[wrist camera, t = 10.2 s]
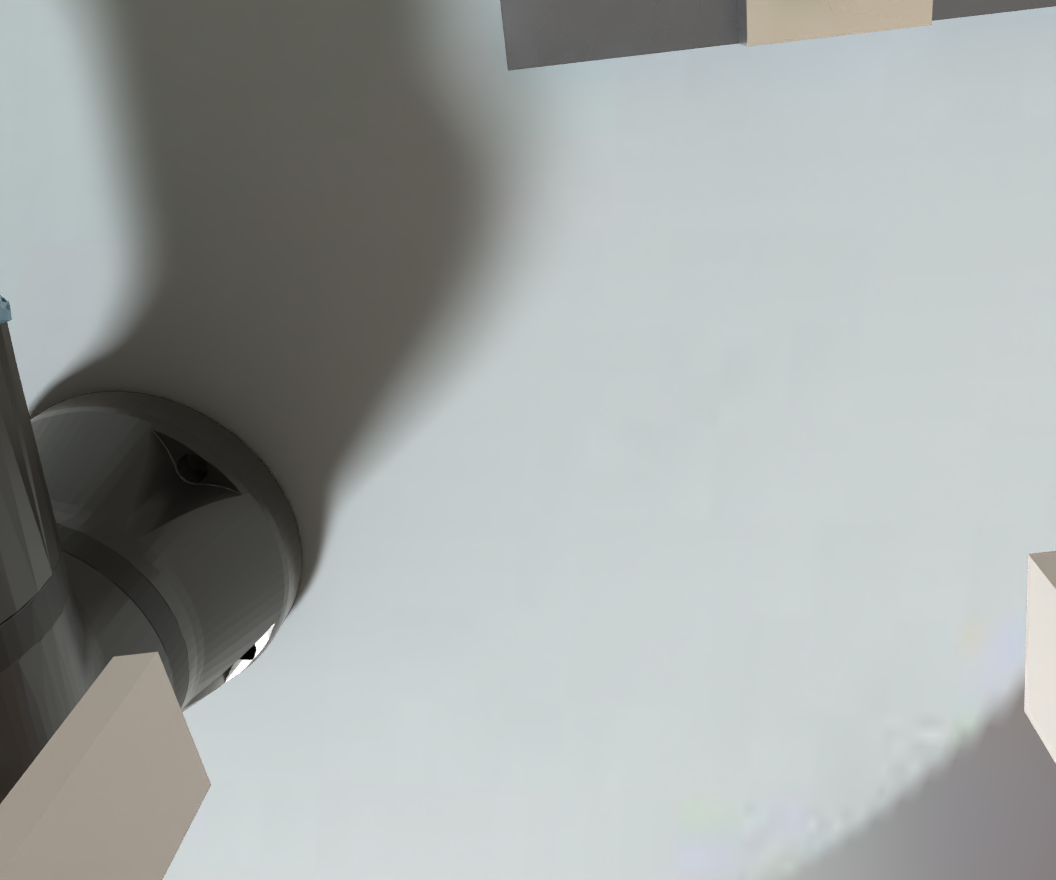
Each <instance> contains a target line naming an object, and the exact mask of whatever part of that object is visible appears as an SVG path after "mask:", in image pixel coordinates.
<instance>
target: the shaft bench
mask: <svg viewBox="0 0 1056 880" xmlns="http://www.w3.org/2000/svg"><path fill="white" fill-rule="evenodd" d="M500 3H501V12H502V20H503V29H504V38H505V47H506V56H507V64H508V70H516V69H524V68H533V67H541V66H550V65H558V64H567V63H575V62H584V61H592V60H601V59H609V58H618V57H626V56H635V55H643V54H652V53H660V52H669V51H677V50H686V49H694V48H703V47H711V46H720V45H729V44H737V43H739V44H742V45H745V46H754V45H763V44H772V43H780V42H789V41H797V40H806V39H814V38H823V37H831V36H840V35H849V34H857V33H866V32H874V31H883V30H891V29H900V28H908V27H917V26H926V25H932V21H933V20H941V19H950V18H958V17H967V16H975V15H984V14H992V13H1001V12H1009V11H1018V10H1026V9H1035V8H1044V7H1052V6H1056V0H500Z"/></svg>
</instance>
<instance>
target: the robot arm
mask: <svg viewBox="0 0 1056 880" xmlns="http://www.w3.org/2000/svg"><path fill="white" fill-rule="evenodd" d="M10 320H12V318H11V310H10V305H9V302H8V301H7V300H6V299H4V298H3V297H2V296H1V295H0V880H162V879H163V877H164V876H165V874H166V872H167V870H168V868H169V866H170V864H171V862H172V860H173V858H174V856H175V854H176V852H177V850H178V848H179V846H180V844H181V842H182V840H183V838H184V837H185V835H186V833H187V831H188V829H189V827H190V825H191V823H192V821H193V819H194V817H195V815H196V813H197V811H198V809H199V807H200V805H201V803H202V801H203V800H204V798H205V796H206V794H207V792H208V790H209V788H210V786H211V784H210V781H209V779H208V776H207V774H206V771H205V769H204V766H203V764H202V761H201V759H200V756H199V753H198V751H197V748H196V746H195V743H194V741H193V738H192V736H191V733H190V731H189V728H188V726H187V723H186V721H185V718H184V716H183V713H182V712H183V711H185V710H186V709H188V708H189V707H191V706H192V705H194V704H195V703H197V702H198V701H200V700H201V699H202V698H204V697H205V696H207V695H208V694H210V693H211V692H213V691H214V690H216V689H217V688H218V687H220V686H221V685H222V684H223V683H225V682H226V681H228V680H230V679H232V678H233V677H235V676H236V675H238V674H239V673H240V672H242V671H243V670H245V669H246V668H247V667H248V666H250V665H251V664H252V663H253V662H254V661H255V660H256V659H257V658H258V657H259V656H260V655H261V654H262V653H263V652H264V650H265V649H266V648H267V647H268V645H269V644H270V643H271V641H272V640H273V638H274V637H275V635H276V633H277V632H278V630H279V628H280V627H281V625H282V623H283V621H284V620H285V618H286V616H287V615H288V613H289V611H290V609H291V607H292V605H293V603H294V600H295V597H296V595H297V592H298V587H299V583H300V577H301V566H302V555H301V544H300V538H299V533H298V529H297V525H296V522H295V519H294V516H293V513H292V510H291V508H290V506H289V504H288V501H287V499H286V497H285V496H284V494H283V492H282V490H281V488H280V487H279V485H278V483H277V482H276V480H275V479H274V477H273V476H272V475H271V473H270V472H269V470H268V469H267V468H266V467H265V465H264V464H263V463H262V462H261V461H260V459H259V458H258V457H257V456H256V455H255V454H254V453H253V452H252V451H251V450H250V449H249V448H248V447H247V446H246V445H245V444H244V443H243V442H242V441H240V440H239V439H238V438H237V437H235V436H234V435H233V434H232V433H230V432H229V431H228V430H226V429H225V428H224V427H222V426H221V425H219V424H218V423H216V422H214V421H213V420H211V419H210V418H208V417H206V416H204V415H202V414H200V413H199V412H196V411H194V410H192V409H190V408H188V407H186V406H183V405H180V404H178V403H175V402H172V401H169V400H166V399H163V398H159V397H155V396H151V395H146V394H140V393H132V392H98V393H90V394H85V395H80V396H77V397H73V398H70V399H67V400H64V401H62V402H59V403H57V404H55V405H53V406H51V407H49V408H48V409H46V410H44V411H43V412H41V413H39V414H38V415H37V416H35V417H34V418H32V419H31V420H30V416H29V412H28V408H27V404H26V400H25V396H24V392H23V388H22V384H21V380H20V376H19V372H18V368H17V364H16V359H15V355H14V350H13V346H12V341H11V337H10V333H9V328H8V324H7V321H10ZM1024 711H1025V713H1026V715H1027V716H1028V718H1029V720H1030V721H1031V723H1032V725H1033V726H1034V728H1035V730H1036V731H1037V733H1038V735H1039V736H1040V738H1041V740H1042V741H1043V743H1044V745H1045V746H1046V748H1047V750H1048V751H1049V753H1050V755H1051V756H1052V758H1053V760H1054V761H1055V763H1056V551H1051V552H1043V553H1034V554H1028V585H1027V626H1026V667H1025V709H1024Z"/></svg>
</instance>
